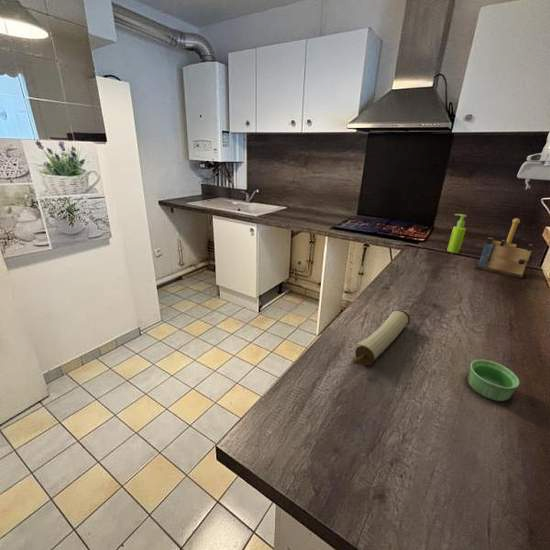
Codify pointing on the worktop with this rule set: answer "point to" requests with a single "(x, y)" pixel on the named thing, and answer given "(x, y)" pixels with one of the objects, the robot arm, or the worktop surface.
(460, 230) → the soap dispenser
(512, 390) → the ramekin
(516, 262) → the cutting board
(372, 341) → the bamboo tube
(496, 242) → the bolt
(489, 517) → the worktop surface
